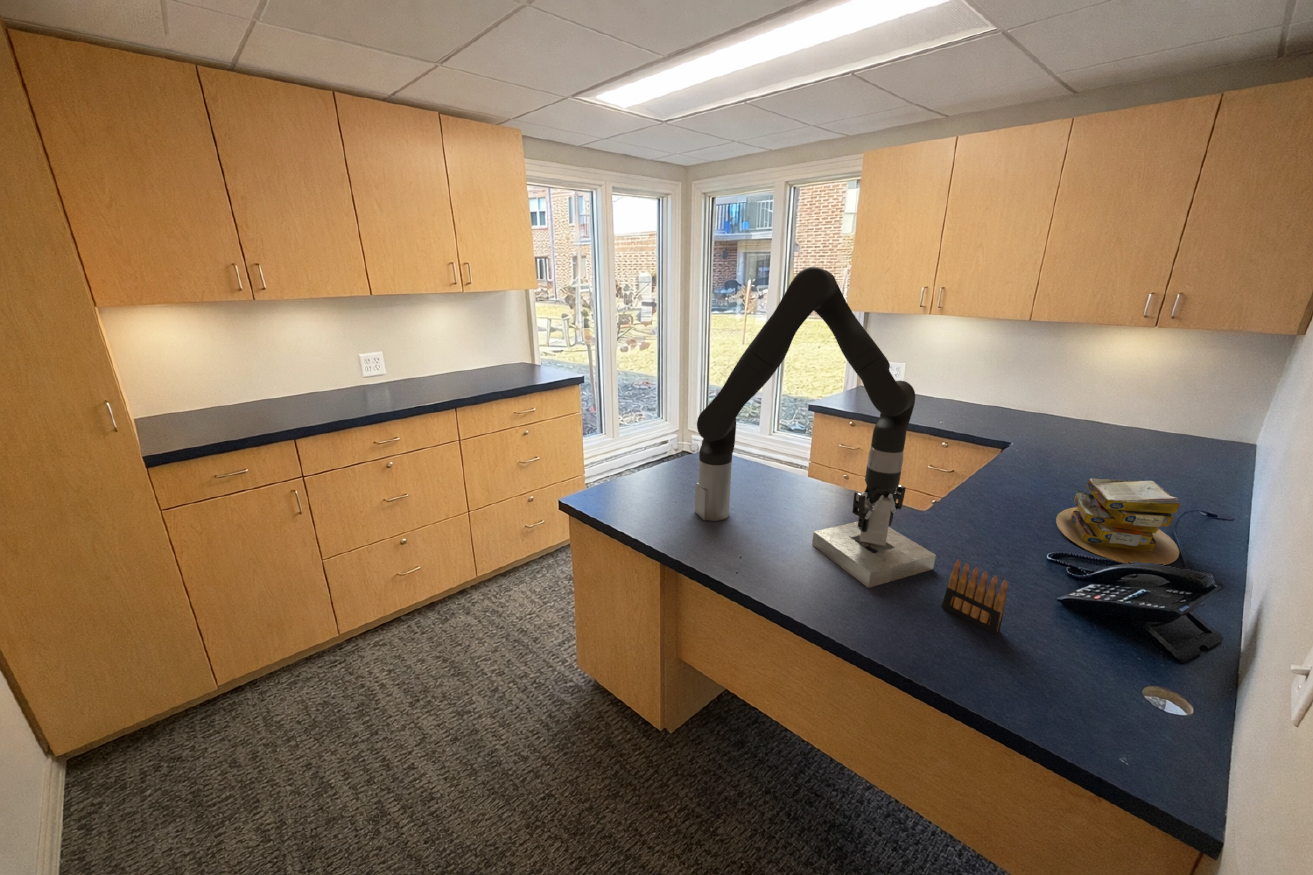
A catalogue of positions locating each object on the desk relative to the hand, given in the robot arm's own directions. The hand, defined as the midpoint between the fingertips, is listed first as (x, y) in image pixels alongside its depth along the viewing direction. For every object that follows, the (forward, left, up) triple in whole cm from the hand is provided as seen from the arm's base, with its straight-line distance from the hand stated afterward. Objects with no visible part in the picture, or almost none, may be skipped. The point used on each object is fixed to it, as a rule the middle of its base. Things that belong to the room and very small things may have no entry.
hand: (874, 527), depth 126 cm
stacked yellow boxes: (+66, -18, -8) cm, 69 cm away
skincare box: (0, 0, -4) cm, 4 cm away
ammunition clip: (+2, -26, -8) cm, 28 cm away
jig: (0, 0, -8) cm, 8 cm away
